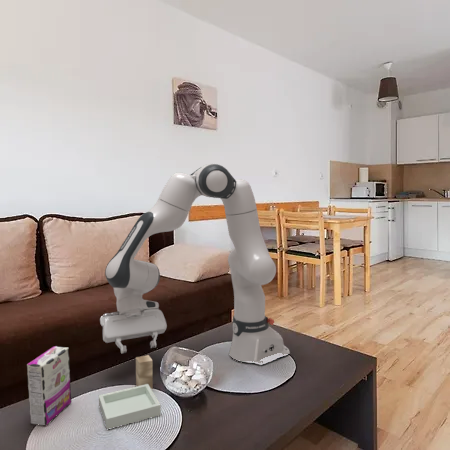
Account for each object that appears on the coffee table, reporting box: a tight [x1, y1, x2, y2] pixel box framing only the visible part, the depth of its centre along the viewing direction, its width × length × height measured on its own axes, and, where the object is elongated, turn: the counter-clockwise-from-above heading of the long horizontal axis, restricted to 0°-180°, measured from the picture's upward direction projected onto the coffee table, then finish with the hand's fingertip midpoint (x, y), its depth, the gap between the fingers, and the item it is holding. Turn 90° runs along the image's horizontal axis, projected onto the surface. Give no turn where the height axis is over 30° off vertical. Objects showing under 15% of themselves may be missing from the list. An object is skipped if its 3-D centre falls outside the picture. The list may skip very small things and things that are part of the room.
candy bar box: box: [26, 345, 72, 426], centre depth 102 cm, size 11×5×16 cm, turn 168°
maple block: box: [135, 354, 154, 390], centre depth 116 cm, size 4×4×9 cm
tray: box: [98, 384, 162, 430], centre depth 104 cm, size 14×12×3 cm
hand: (139, 349), depth 120 cm, fingers open, 8 cm apart
